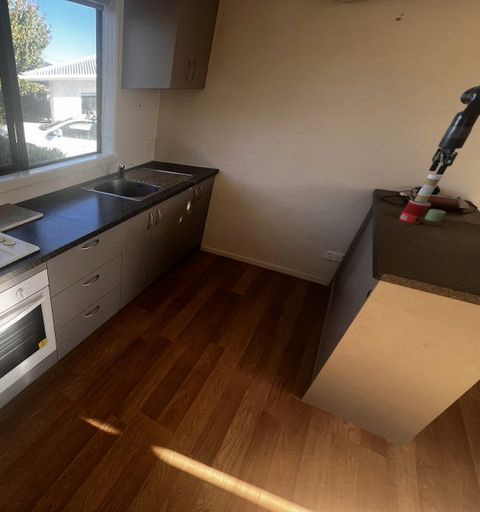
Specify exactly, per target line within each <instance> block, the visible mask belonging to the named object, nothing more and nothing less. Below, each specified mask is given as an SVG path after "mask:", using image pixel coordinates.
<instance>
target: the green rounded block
mask: <svg viewBox="0 0 480 512" xmlns="http://www.w3.org/2000/svg"><path fill="white" fill-rule="evenodd" d="M446 213H447V212H446V211H445V210H441V209H436V208H429V209H428V210H427V212H426V214H425V216H424V219H425V220H427V221H430V222H434V223H435V222H437V223H441V222H442V220H443V219H444V216H445V215H446Z"/></svg>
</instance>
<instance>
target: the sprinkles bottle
mask: <svg viewBox="0 0 480 512" xmlns="http://www.w3.org/2000/svg"><path fill="white" fill-rule="evenodd" d="M442 178H443V175H437V174H436V173H429V174H428V175H427V178H426V180H425V181H424V183H423V184H422V186H421V188H420V189H419V191H418V193H417V195H416V197H415V199H414V200H415V201H417V202H423V203H425V202H428V200H429V199H430V197H431V195H432V193H434V191H435V189H436V187H437V186H438V184H439V182H440V181H441V180H442Z"/></svg>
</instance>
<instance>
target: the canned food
mask: <svg viewBox="0 0 480 512" xmlns="http://www.w3.org/2000/svg"><path fill="white" fill-rule="evenodd" d="M431 205H432V203H431V202H429V201H427V202H425V203H423V202H417V201H415V199H409V200H408V202H407V203H406V206H405V207H404V209H403V211H402V212H401V214H400V216H399V217H398V220H399V221H400V222H403V223H406V224H409V225H411V224H412V225H419V224H420V223H421V222H422V220H423V219H424V218H425V216H426V215H427V213H428V211H429V210H430V207H431Z"/></svg>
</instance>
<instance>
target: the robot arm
mask: <svg viewBox="0 0 480 512" xmlns="http://www.w3.org/2000/svg"><path fill="white" fill-rule="evenodd" d="M459 100H460V102H461V103H462V104H463V105H467V106H466V107H465V108H464V109H463V110H462V111H459V112H457V113H456V114H455V115H454V117H453V119H452V121H451V122H450V124H449V126H448V128H446V130H445V132H444V134H443V136H442V138H441V140H440V141H439V143H438V145H437V146H438V148H437V149H436V151H435V153H434V154H433V156H432V158H431V162H432V163H431V165H430V167H429V169H428V171H429V172H436V173H435V174H437V175H442V176H443V175H444V173H445V172H446V171H447V168H449V167H451V166H452V165H453V164H454V161H456V158H457V156H458V154H459V151H456V150H460V149H462V148H463V147H464V145H465V143H466V142H467V140H468V138H469V136H470V134H471V133H472V130H473V127H474V126H475V124H476V122H477V120H478V118H479V117H480V85H477V86H473V87H470V88H468V89H466V90H465V91H464V92H463V93H462V94H461V95H460V99H459Z"/></svg>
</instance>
